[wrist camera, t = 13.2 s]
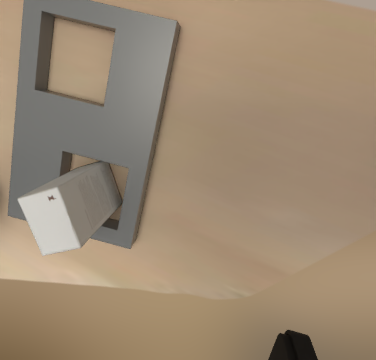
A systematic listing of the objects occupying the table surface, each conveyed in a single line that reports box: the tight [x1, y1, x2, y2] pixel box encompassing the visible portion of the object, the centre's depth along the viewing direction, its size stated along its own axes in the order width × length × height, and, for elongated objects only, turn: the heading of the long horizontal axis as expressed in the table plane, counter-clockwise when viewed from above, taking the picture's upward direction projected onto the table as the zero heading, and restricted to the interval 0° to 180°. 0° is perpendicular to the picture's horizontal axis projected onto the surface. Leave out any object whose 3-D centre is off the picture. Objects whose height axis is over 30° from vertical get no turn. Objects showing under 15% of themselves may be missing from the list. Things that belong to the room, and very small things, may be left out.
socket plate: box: [8, 0, 180, 249], centre depth 36 cm, size 16×26×2 cm, turn 166°
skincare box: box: [18, 161, 122, 256], centre depth 33 cm, size 6×4×12 cm
